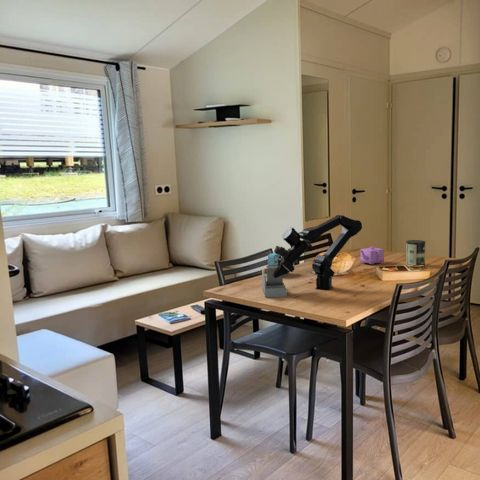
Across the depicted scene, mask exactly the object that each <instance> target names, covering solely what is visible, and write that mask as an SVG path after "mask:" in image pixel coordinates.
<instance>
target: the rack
mask: <svg viewBox="0 0 480 480" xmlns="http://www.w3.org/2000/svg"><path fill="white" fill-rule="evenodd" d="M261 279H262V292H263V295H265V296H264V298H283V297H285V298H286V297H288V296H287V291H288V290H287V287H286V285H285V283H284V282H283V285H277V286H267V274H266V269H265V267H262V269H261Z"/></svg>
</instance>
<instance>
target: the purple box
mask: <svg viewBox="0 0 480 480" xmlns="http://www.w3.org/2000/svg"><path fill="white" fill-rule="evenodd" d="M359 252H360V263H362V262H365V263H369V264H368V265H370V264H374V263H380V262H383V263H384V262H385V249H383V248H378V247H375V246H374V245H373V246H370V247H368V248H366V247H365V248H360V250H359ZM365 263H364V264H365ZM380 264H381V263H380ZM374 265H375V264H374Z"/></svg>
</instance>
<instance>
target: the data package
mask: <svg viewBox="0 0 480 480" xmlns="http://www.w3.org/2000/svg"><path fill="white" fill-rule="evenodd" d="M278 256H279V254H276V253H274V252H273V253H268V255H267V265H277V264H278V259H280V258H278ZM288 274H289V273H287V274H286V275H288Z"/></svg>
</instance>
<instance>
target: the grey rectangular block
mask: <svg viewBox="0 0 480 480" xmlns="http://www.w3.org/2000/svg"><path fill="white" fill-rule="evenodd" d="M279 268H280V265H268V264H267V265H266V281H267V286H277V285H283V283H284V281H283V280H284V279H283V275H282V276H279V277H277V278H274V275H275V274H276V272H277V271H278V269H279Z"/></svg>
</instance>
